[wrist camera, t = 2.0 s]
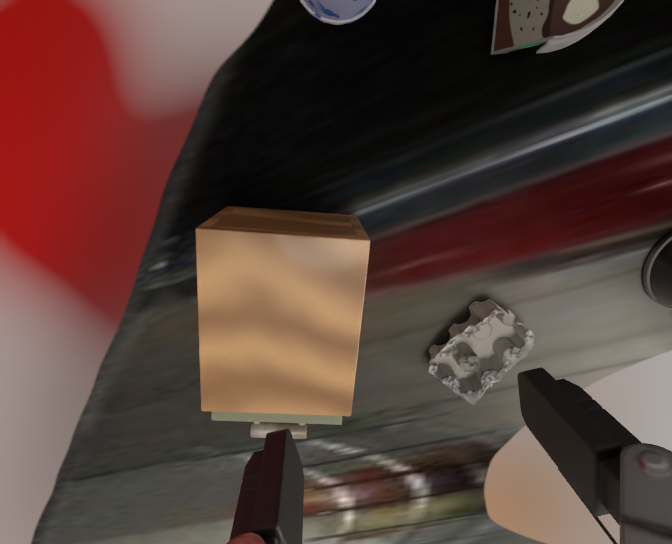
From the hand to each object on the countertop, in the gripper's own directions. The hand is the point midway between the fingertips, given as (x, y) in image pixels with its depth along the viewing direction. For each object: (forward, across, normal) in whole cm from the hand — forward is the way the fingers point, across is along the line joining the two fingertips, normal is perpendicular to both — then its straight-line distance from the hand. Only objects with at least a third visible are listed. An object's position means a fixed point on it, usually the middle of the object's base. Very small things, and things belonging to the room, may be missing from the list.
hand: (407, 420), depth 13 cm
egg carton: (+28, +11, -16) cm, 34 cm away
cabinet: (+28, -7, -4) cm, 29 cm away
